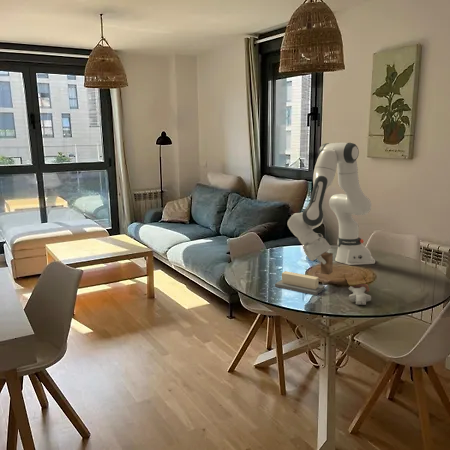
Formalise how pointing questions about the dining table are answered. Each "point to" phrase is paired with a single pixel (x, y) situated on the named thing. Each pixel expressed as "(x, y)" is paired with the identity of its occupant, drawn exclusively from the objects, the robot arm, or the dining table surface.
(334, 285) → the dining table surface
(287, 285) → the stand
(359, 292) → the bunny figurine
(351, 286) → the wooden tablet
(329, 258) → the walnut pillar
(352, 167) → the robot arm
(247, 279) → the dining table surface
